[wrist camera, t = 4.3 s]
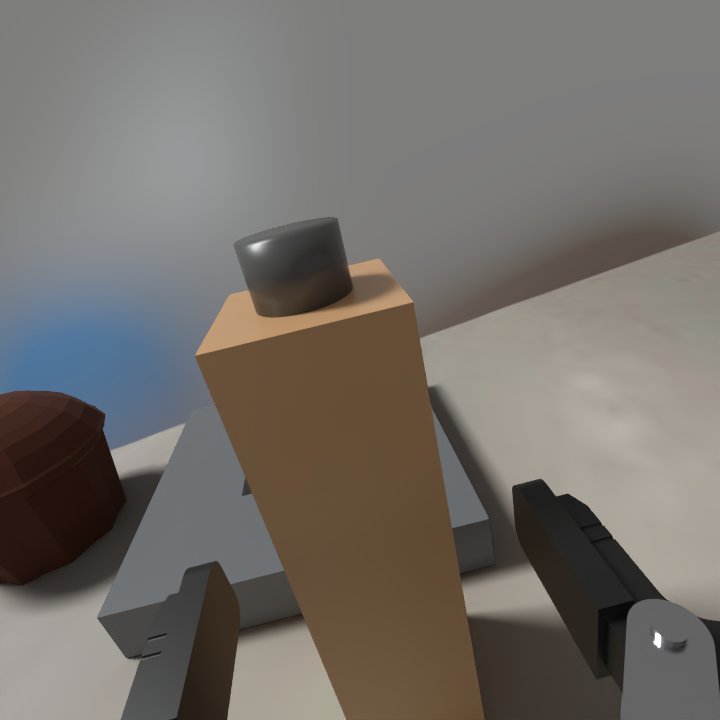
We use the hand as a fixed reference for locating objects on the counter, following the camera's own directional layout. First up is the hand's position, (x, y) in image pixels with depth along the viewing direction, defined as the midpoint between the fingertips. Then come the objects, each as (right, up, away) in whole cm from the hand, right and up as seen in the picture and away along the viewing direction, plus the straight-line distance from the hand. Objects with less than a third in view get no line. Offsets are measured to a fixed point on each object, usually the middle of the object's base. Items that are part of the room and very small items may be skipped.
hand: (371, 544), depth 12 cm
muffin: (-21, -7, +19) cm, 29 cm away
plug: (+2, -8, +6) cm, 10 cm away
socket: (-4, -3, +17) cm, 18 cm away
